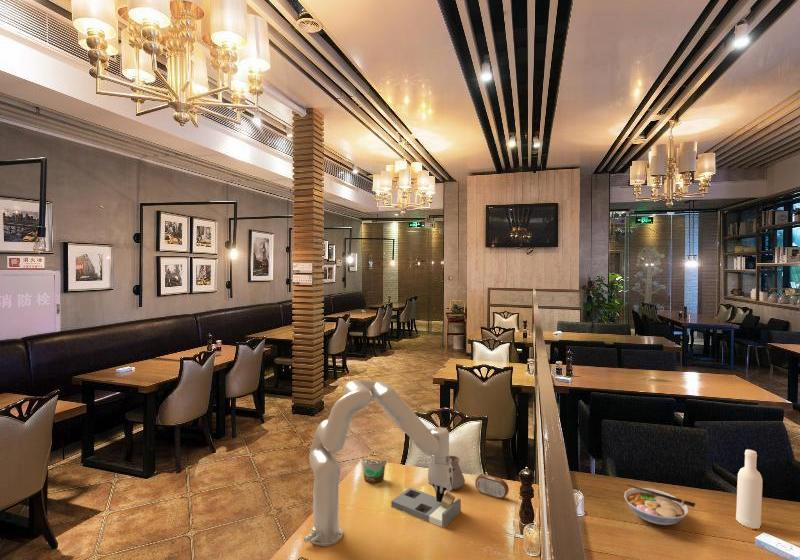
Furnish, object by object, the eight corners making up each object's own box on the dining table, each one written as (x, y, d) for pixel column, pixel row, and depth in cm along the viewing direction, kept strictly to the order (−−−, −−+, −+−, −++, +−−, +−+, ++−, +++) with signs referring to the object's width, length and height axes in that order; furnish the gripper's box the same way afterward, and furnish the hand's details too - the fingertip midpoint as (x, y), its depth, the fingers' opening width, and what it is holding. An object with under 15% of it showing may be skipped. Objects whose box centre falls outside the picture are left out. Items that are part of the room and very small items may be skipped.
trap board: (444, 528, 174) (444, 514, 174) (391, 506, 189) (391, 494, 189) (460, 511, 185) (460, 498, 185) (409, 492, 200) (409, 480, 200)
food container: (358, 483, 208) (358, 463, 208) (361, 477, 214) (361, 457, 214) (383, 486, 206) (384, 465, 206) (386, 479, 212) (386, 459, 212)
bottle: (739, 527, 175) (742, 453, 174) (732, 517, 183) (735, 445, 181) (764, 532, 172) (767, 456, 171) (756, 521, 180) (759, 448, 179)
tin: (508, 498, 196) (509, 480, 196) (506, 501, 193) (506, 483, 193) (477, 489, 204) (477, 471, 204) (474, 492, 202) (474, 474, 201)
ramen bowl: (613, 518, 181) (613, 499, 181) (629, 497, 198) (630, 479, 197) (684, 545, 164) (685, 524, 164) (696, 519, 181) (696, 500, 180)
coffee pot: (440, 478, 214) (440, 448, 213) (464, 480, 212) (464, 449, 212) (439, 502, 192) (439, 469, 192) (466, 504, 191) (466, 470, 191)
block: (448, 509, 183) (451, 501, 182) (440, 503, 185) (443, 495, 184) (452, 504, 186) (455, 496, 185) (444, 499, 188) (447, 491, 187)
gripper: (460, 459, 185) (460, 502, 186) (429, 450, 193) (429, 491, 194) (451, 466, 179) (451, 510, 179) (420, 456, 187) (420, 499, 188)
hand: (440, 500), depth 187 cm, fingers closed
